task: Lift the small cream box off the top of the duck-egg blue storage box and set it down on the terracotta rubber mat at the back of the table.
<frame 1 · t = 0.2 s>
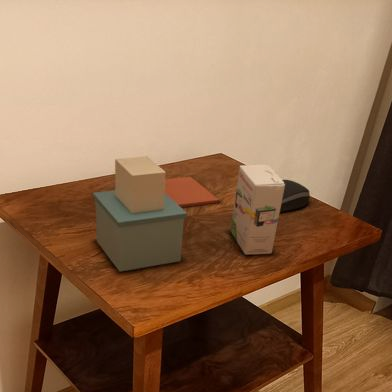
mat: (176, 193, 103), on the table
storage box: (137, 251, 84), on the table
ink box: (250, 243, 90), on the table
small box: (139, 202, 79), point 8 cm above the table, touching storage box
computer mouse: (281, 204, 104), on the table
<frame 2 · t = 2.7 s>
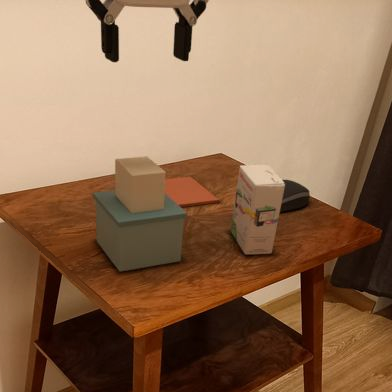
hand: (147, 59, 69), 27 cm above the table, tool pointing down, fingers open, 9 cm apart
nothing on the table moved.
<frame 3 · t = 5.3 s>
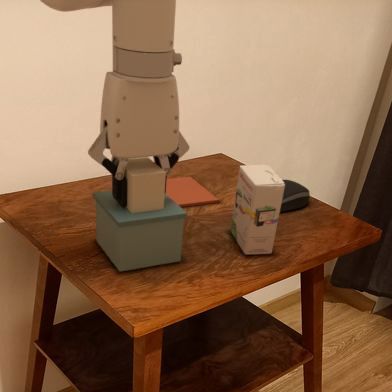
hand: (139, 199, 79), 8 cm above the table, tool pointing down, fingers closed on small box, 5 cm apart
small box: (139, 202, 79), point 8 cm above the table, touching gripper, storage box
everything else where it was.
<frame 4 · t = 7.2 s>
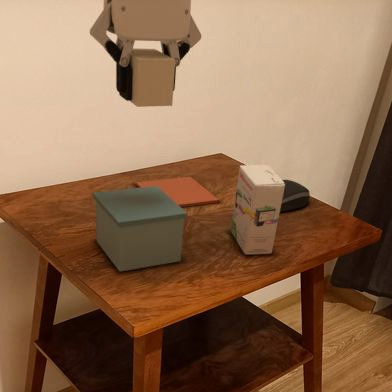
hand: (145, 96, 72), 22 cm above the table, tool pointing down, fingers closed on small box, 5 cm apart
small box: (145, 99, 72), point 22 cm above the table, touching gripper
everything else where it was.
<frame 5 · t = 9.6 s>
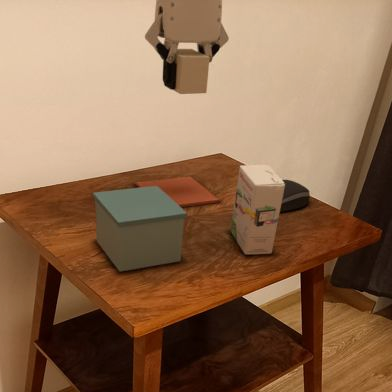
hand: (184, 86, 92), 19 cm above the table, tool pointing down, fingers closed on small box, 5 cm apart
small box: (184, 88, 92), point 19 cm above the table, touching gripper
everything else where it was.
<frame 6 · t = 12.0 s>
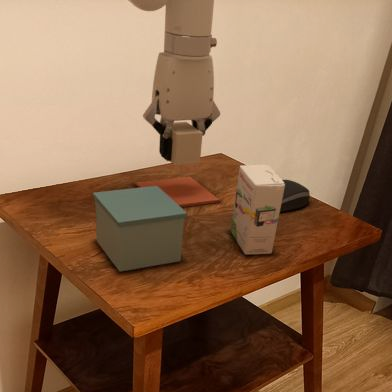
hand: (179, 156, 99), 7 cm above the table, tool pointing down, fingers closed on small box, 5 cm apart
small box: (179, 158, 99), point 7 cm above the table, touching gripper
everything else where it was.
when the fingers open (1 cm above the table, at t = 13.9 s): small box stays where it is, resting on mat.
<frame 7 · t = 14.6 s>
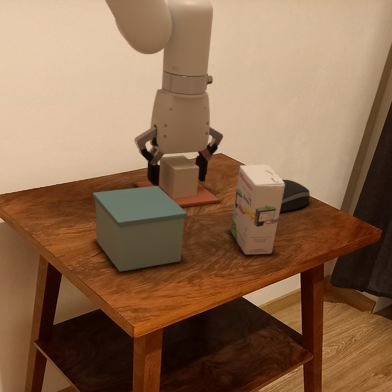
hand: (177, 181, 102), 2 cm above the table, tool pointing down, fingers open, 9 cm apart
small box: (177, 190, 103), point 1 cm above the table, touching mat
everything else where it was.
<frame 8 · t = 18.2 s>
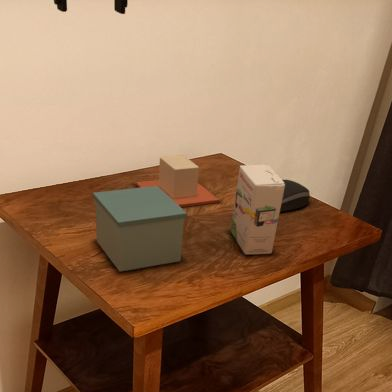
hand: (91, 11, 86), 28 cm above the table, tool pointing down, fingers open, 9 cm apart
nothing on the table moved.
at the end: small box inside the target area on the mat (0.1 cm from its centre), point 0.6 cm above the mat's base; small box touching mat; small box tilted 0° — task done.
